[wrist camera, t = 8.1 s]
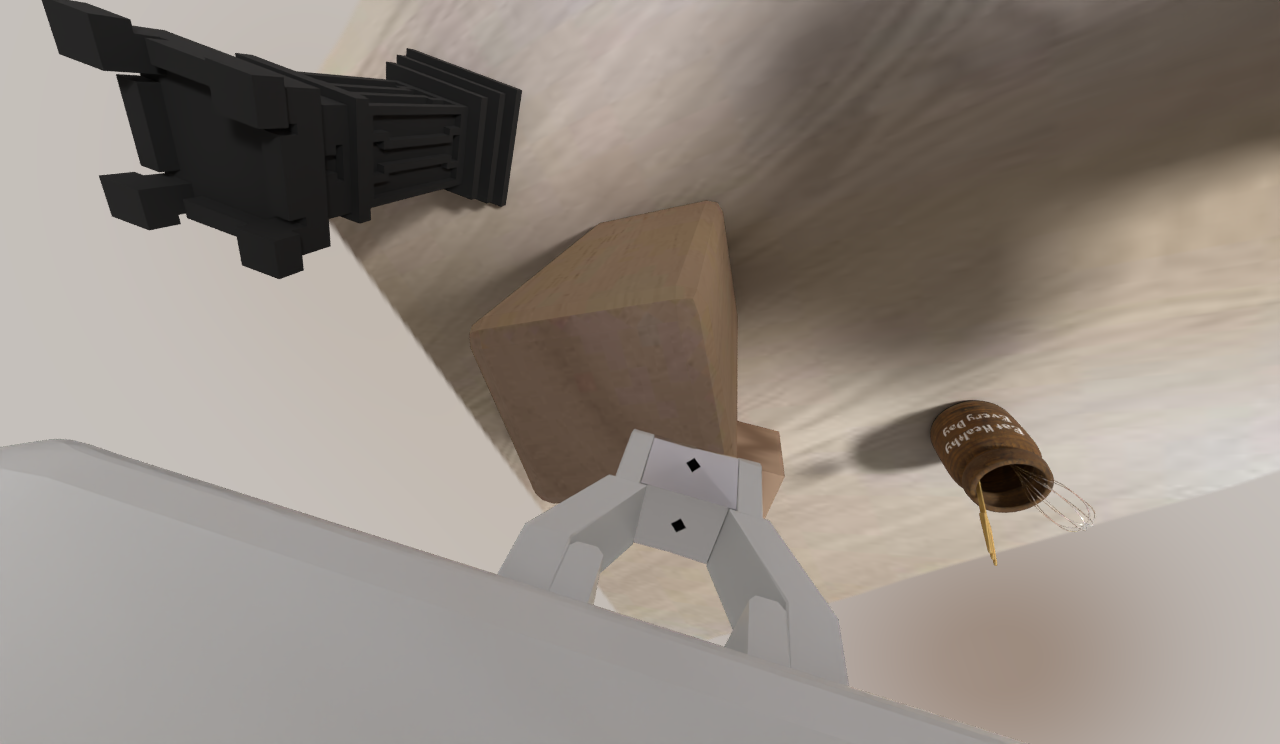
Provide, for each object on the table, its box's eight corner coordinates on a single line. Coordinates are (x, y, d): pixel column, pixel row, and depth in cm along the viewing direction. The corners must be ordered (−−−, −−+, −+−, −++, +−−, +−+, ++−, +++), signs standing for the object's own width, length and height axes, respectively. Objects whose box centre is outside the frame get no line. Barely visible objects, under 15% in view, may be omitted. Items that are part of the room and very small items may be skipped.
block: (622, 339, 39) (534, 512, 22) (591, 223, 35) (450, 329, 18) (739, 323, 37) (740, 507, 20) (721, 195, 32) (701, 289, 15)
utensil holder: (1019, 440, 37) (1126, 565, 27) (936, 465, 40) (1005, 587, 29) (998, 386, 35) (1105, 498, 25) (912, 415, 38) (977, 528, 28)
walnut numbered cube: (779, 431, 41) (784, 478, 36) (758, 478, 44) (761, 528, 39) (714, 414, 42) (711, 459, 36) (698, 462, 45) (693, 509, 39)
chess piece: (413, 49, 31) (23, -25, 14) (522, 90, 31) (261, 64, 14) (410, 169, 35) (105, 222, 18) (505, 204, 35) (289, 291, 18)
